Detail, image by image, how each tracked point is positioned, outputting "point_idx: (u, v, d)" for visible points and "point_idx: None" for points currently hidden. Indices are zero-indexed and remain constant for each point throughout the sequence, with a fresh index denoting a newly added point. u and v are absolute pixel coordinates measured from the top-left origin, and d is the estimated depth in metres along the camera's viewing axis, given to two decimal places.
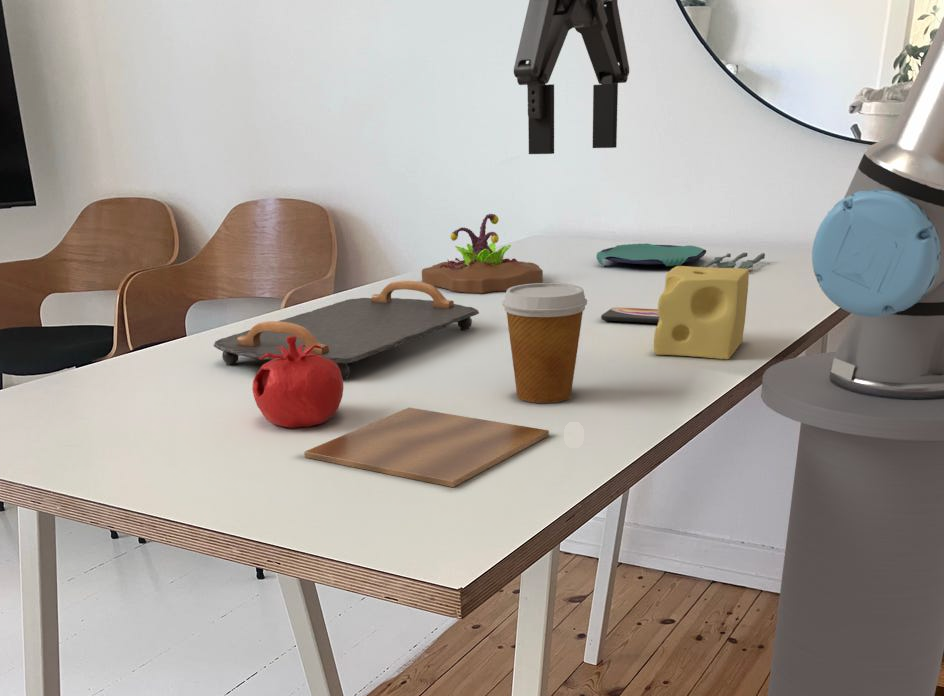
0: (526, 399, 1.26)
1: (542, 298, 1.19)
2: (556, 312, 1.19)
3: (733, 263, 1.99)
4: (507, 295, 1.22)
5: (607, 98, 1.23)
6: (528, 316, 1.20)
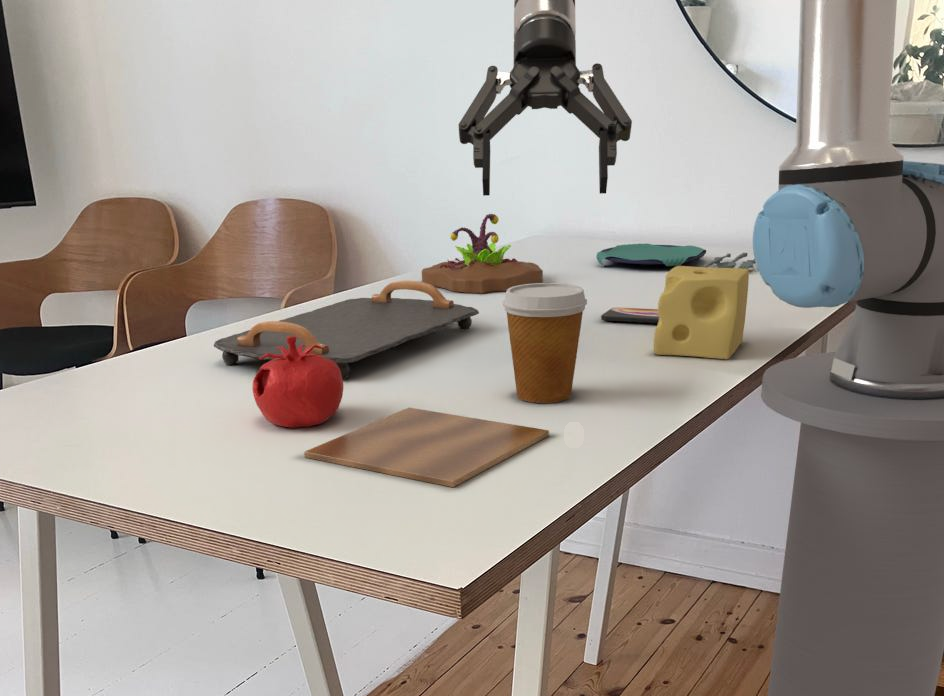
0: (526, 399, 1.26)
1: (542, 298, 1.19)
2: (556, 312, 1.19)
3: (733, 263, 1.99)
4: (507, 295, 1.22)
5: None
6: (528, 316, 1.20)
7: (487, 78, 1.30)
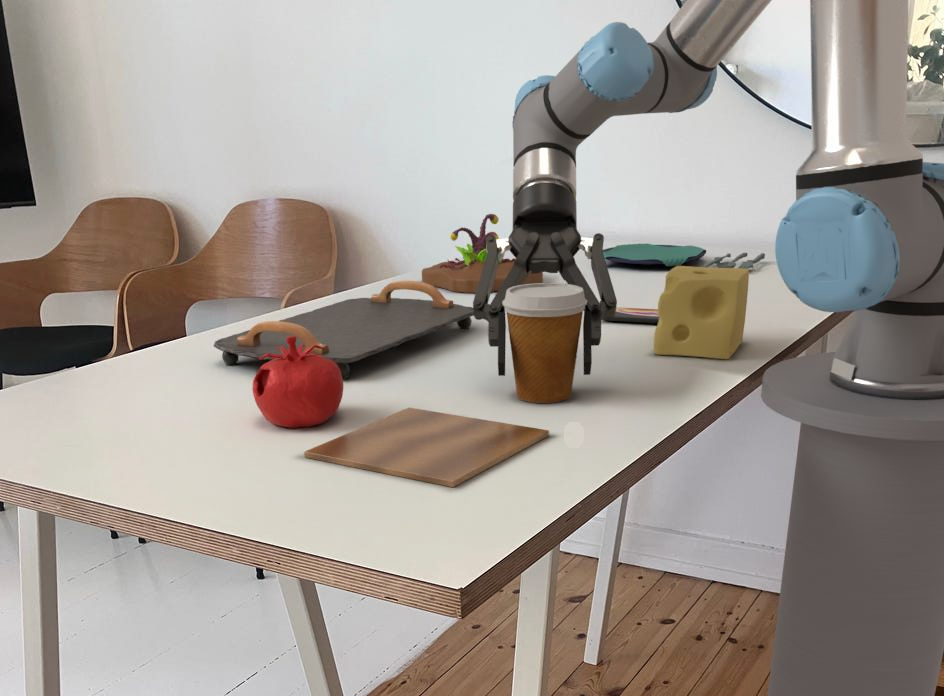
0: (526, 399, 1.26)
1: (542, 298, 1.19)
2: (556, 312, 1.19)
3: (733, 263, 1.99)
4: (507, 295, 1.22)
5: None
6: (528, 316, 1.20)
7: (488, 249, 1.27)
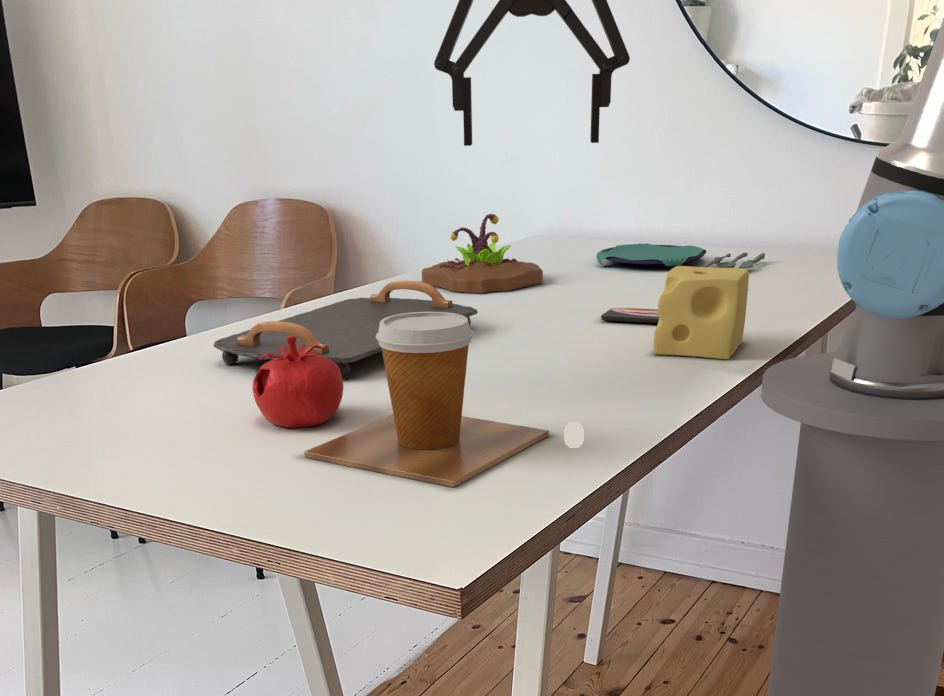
0: (406, 445, 1.10)
1: (417, 331, 1.03)
2: (434, 347, 1.03)
3: (733, 263, 1.99)
4: (380, 327, 1.06)
5: (592, 89, 1.15)
6: (402, 352, 1.04)
7: None
